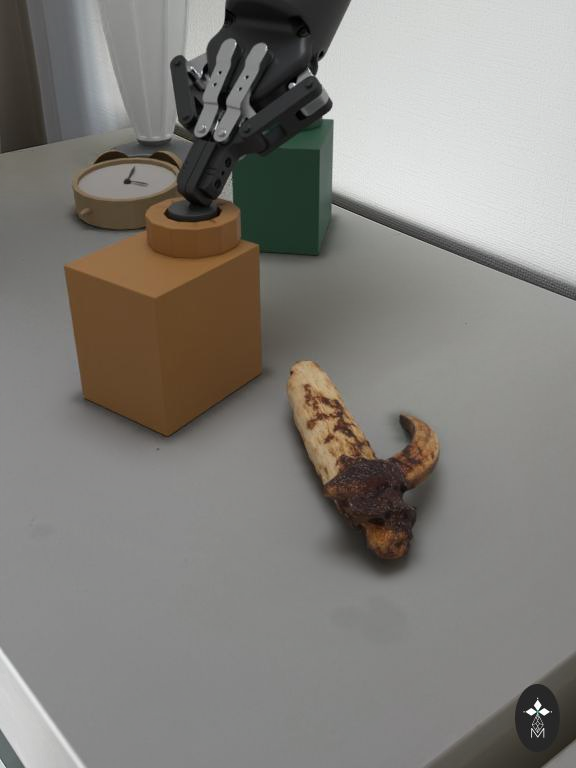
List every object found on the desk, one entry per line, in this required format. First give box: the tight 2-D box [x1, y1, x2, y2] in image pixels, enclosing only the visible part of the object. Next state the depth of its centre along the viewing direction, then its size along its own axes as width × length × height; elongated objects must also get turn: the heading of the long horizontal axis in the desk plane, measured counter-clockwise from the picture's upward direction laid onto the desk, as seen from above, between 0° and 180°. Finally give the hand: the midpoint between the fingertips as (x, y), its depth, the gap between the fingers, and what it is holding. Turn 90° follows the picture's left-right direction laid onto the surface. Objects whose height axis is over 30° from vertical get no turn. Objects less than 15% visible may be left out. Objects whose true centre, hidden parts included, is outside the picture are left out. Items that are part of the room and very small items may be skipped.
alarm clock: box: [71, 149, 183, 230], centre depth 92 cm, size 11×5×15 cm
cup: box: [96, 0, 193, 163], centre depth 102 cm, size 12×12×22 cm
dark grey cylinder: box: [168, 200, 217, 223], centre depth 58 cm, size 3×3×2 cm
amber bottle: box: [63, 197, 263, 437], centre depth 59 cm, size 11×8×12 cm
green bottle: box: [231, 116, 335, 256], centre depth 83 cm, size 11×8×12 cm
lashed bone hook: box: [286, 360, 441, 560], centre depth 52 cm, size 9×5×18 cm
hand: (192, 199), depth 57 cm, fingers closed
